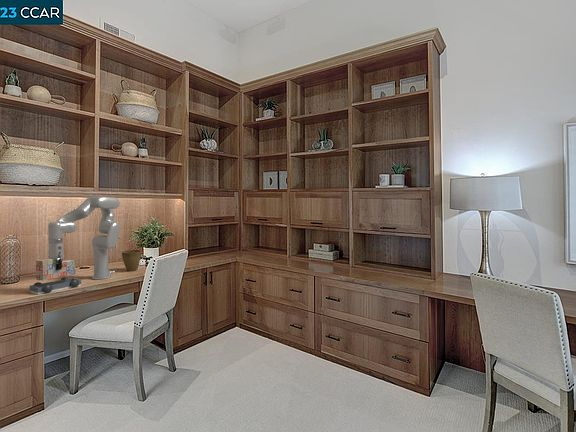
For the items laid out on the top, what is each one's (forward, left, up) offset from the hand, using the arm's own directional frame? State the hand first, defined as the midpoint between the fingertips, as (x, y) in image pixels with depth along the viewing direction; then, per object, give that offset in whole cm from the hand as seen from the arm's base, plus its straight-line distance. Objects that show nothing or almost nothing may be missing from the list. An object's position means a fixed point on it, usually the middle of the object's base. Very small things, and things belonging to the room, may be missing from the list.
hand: (55, 268), depth 220 cm
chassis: (0, 0, -13) cm, 13 cm away
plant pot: (-62, -10, -13) cm, 64 cm away
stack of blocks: (0, 0, -6) cm, 6 cm away
